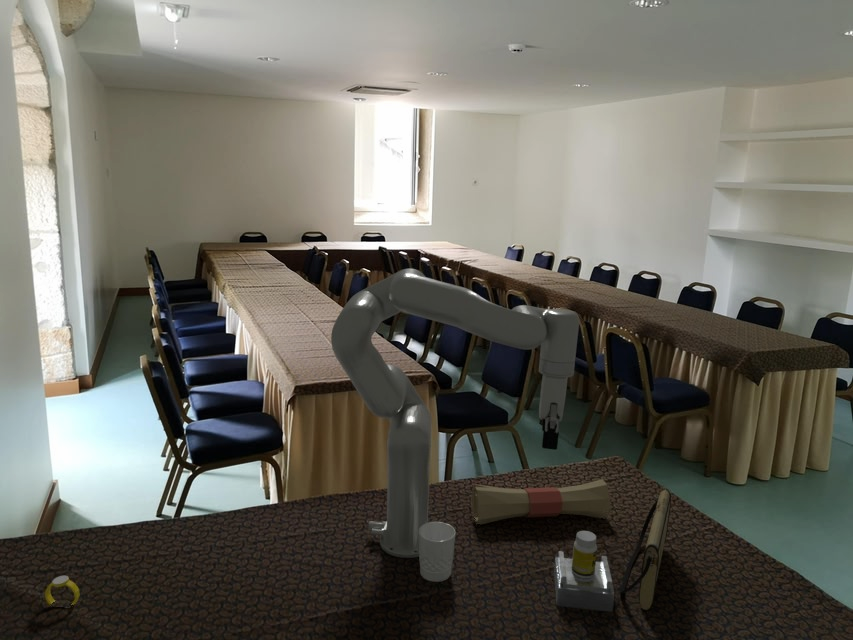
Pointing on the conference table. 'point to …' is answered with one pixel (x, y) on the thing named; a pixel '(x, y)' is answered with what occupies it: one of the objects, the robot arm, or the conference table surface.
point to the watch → (58, 583)
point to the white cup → (436, 550)
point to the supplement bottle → (584, 554)
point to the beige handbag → (651, 551)
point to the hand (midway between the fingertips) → (549, 439)
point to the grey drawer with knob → (583, 586)
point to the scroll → (539, 501)
